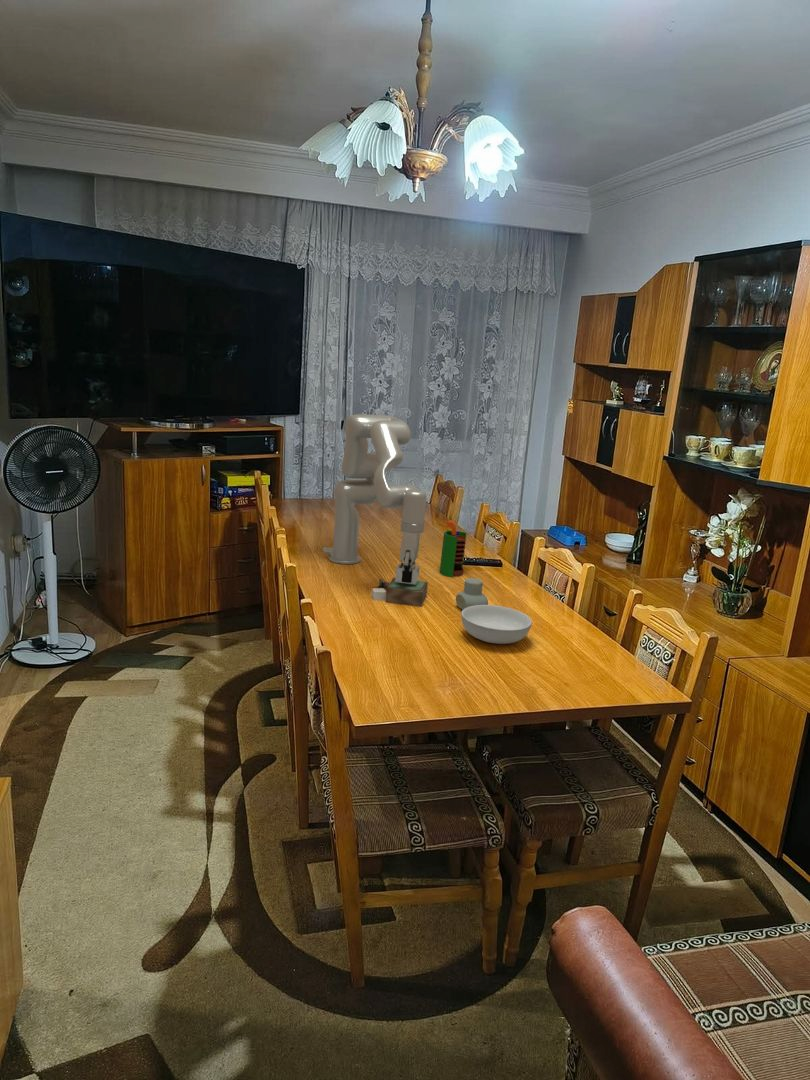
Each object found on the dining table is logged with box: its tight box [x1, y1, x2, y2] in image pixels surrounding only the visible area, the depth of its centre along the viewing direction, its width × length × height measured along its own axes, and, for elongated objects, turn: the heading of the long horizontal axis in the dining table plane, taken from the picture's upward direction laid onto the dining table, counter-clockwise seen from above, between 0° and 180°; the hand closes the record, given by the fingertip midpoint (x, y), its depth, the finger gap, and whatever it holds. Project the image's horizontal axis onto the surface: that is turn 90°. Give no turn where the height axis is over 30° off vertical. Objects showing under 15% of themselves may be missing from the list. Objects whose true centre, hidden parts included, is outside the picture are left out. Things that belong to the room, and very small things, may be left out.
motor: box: [439, 520, 467, 578], centre depth 282 cm, size 10×9×20 cm
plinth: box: [385, 577, 429, 608], centre depth 250 cm, size 12×12×5 cm
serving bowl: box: [460, 604, 533, 645], centre depth 222 cm, size 21×21×7 cm
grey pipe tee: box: [455, 577, 489, 611], centre depth 245 cm, size 11×8×10 cm
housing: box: [395, 562, 420, 585], centre depth 249 cm, size 7×5×6 cm
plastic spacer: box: [371, 587, 387, 601], centre depth 249 cm, size 4×4×3 cm
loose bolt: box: [378, 578, 390, 588], centre depth 262 cm, size 6×3×3 cm, turn 80°
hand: (407, 579), depth 249 cm, fingers closed on housing, 4 cm apart
